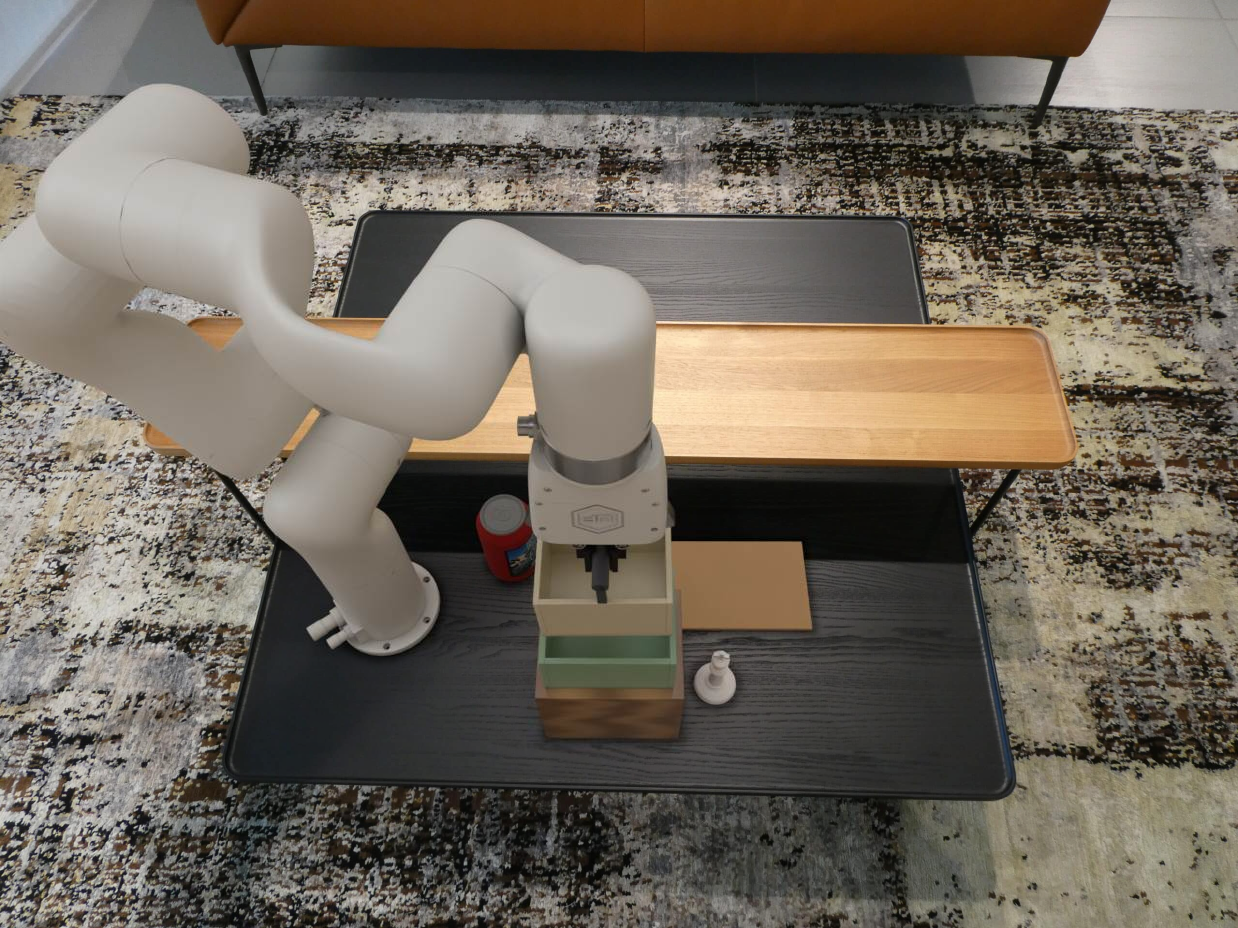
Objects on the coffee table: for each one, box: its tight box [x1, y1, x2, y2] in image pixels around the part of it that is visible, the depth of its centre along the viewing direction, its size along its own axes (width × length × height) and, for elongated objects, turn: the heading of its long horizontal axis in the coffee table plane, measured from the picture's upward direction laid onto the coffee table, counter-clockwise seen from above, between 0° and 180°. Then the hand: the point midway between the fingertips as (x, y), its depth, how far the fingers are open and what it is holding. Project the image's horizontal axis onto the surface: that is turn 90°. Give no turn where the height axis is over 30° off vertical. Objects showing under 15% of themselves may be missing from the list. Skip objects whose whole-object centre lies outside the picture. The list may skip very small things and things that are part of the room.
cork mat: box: [671, 540, 813, 632], centre depth 106 cm, size 18×12×1 cm, turn 89°
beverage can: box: [475, 494, 537, 582], centre depth 103 cm, size 7×7×12 cm
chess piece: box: [693, 650, 737, 705], centre depth 95 cm, size 5×5×10 cm
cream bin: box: [532, 527, 673, 636], centre depth 73 cm, size 12×9×11 cm
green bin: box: [538, 568, 677, 689], centre depth 84 cm, size 13×10×7 cm
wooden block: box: [534, 589, 685, 740], centre depth 93 cm, size 15×12×14 cm
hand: (602, 556), depth 72 cm, fingers closed on cream bin, 1 cm apart
